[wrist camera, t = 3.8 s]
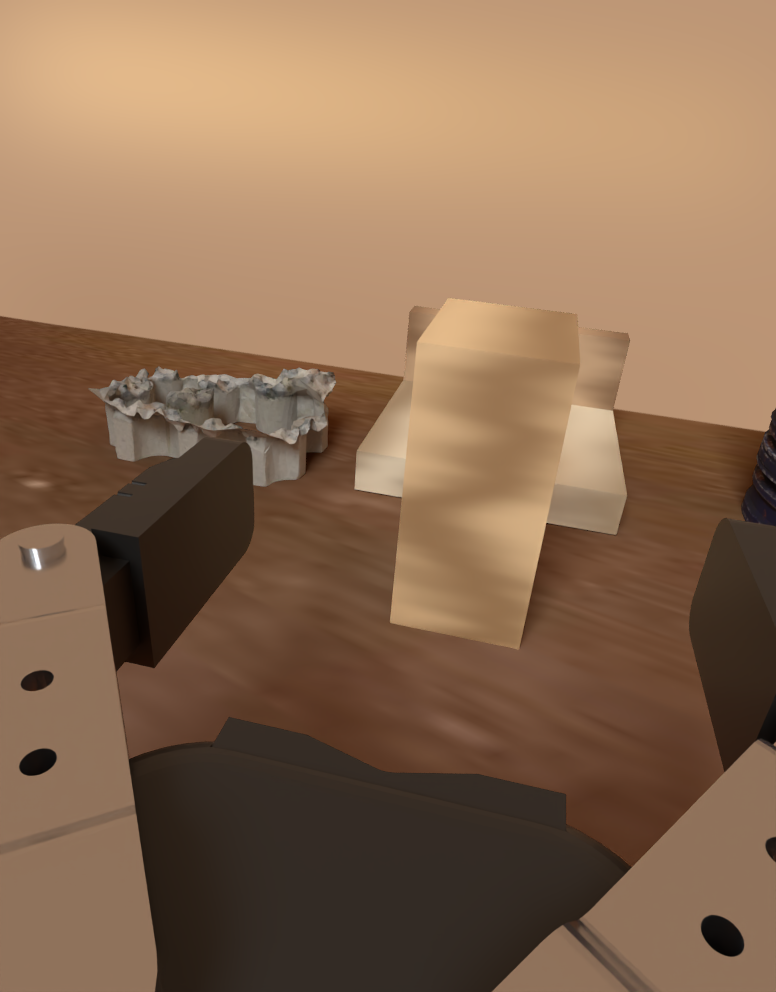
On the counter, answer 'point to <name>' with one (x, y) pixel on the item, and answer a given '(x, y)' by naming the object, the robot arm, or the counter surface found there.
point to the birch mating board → (586, 449)
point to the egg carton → (222, 416)
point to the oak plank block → (481, 466)
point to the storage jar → (763, 482)
